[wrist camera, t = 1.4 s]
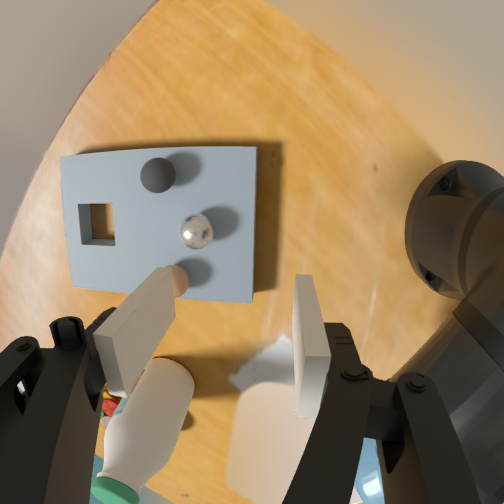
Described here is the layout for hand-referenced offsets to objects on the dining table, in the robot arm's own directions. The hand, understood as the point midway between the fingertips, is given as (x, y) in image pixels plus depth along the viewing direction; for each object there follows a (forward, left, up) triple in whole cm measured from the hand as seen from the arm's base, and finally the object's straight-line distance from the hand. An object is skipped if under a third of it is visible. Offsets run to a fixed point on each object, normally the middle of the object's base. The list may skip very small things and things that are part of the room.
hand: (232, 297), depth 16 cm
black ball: (+8, -5, -13) cm, 16 cm away
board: (+10, 0, -17) cm, 20 cm away
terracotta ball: (+7, +5, -13) cm, 16 cm away
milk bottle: (+11, +21, -17) cm, 29 cm away
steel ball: (+5, 0, -13) cm, 14 cm away
